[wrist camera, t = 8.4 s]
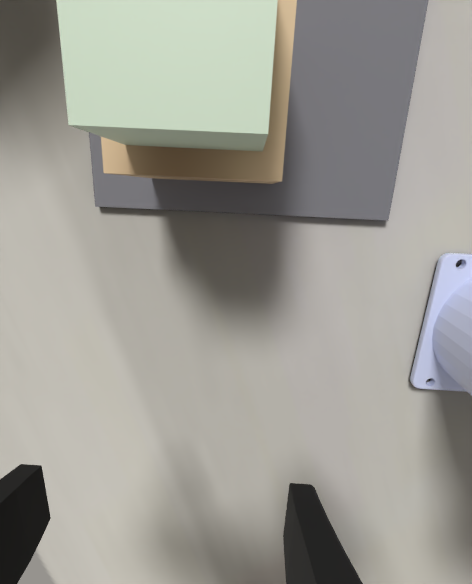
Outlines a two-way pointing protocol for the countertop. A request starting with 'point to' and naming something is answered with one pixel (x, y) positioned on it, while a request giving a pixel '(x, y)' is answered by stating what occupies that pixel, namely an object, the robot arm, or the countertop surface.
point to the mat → (316, 122)
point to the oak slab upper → (216, 160)
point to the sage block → (170, 70)
